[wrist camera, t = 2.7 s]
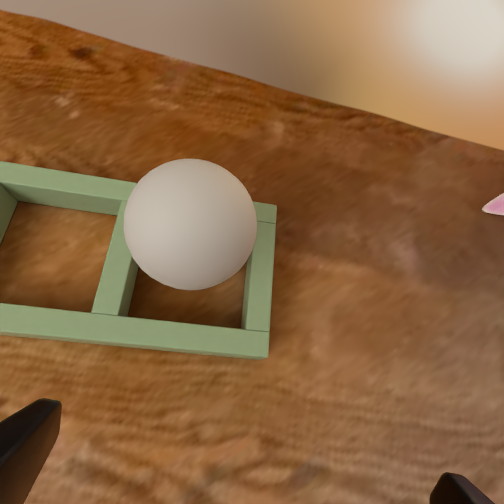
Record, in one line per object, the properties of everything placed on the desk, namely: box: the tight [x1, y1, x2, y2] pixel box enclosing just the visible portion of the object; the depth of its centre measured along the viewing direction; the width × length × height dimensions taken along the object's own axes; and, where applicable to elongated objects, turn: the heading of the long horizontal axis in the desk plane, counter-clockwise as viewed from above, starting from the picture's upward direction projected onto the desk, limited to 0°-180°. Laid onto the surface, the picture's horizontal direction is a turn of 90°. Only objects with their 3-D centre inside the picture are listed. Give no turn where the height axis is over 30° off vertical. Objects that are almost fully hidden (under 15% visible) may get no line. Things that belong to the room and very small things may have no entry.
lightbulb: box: [124, 159, 257, 290], centre depth 17 cm, size 6×6×11 cm
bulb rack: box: [0, 161, 277, 360], centre depth 21 cm, size 10×19×2 cm, turn 85°
